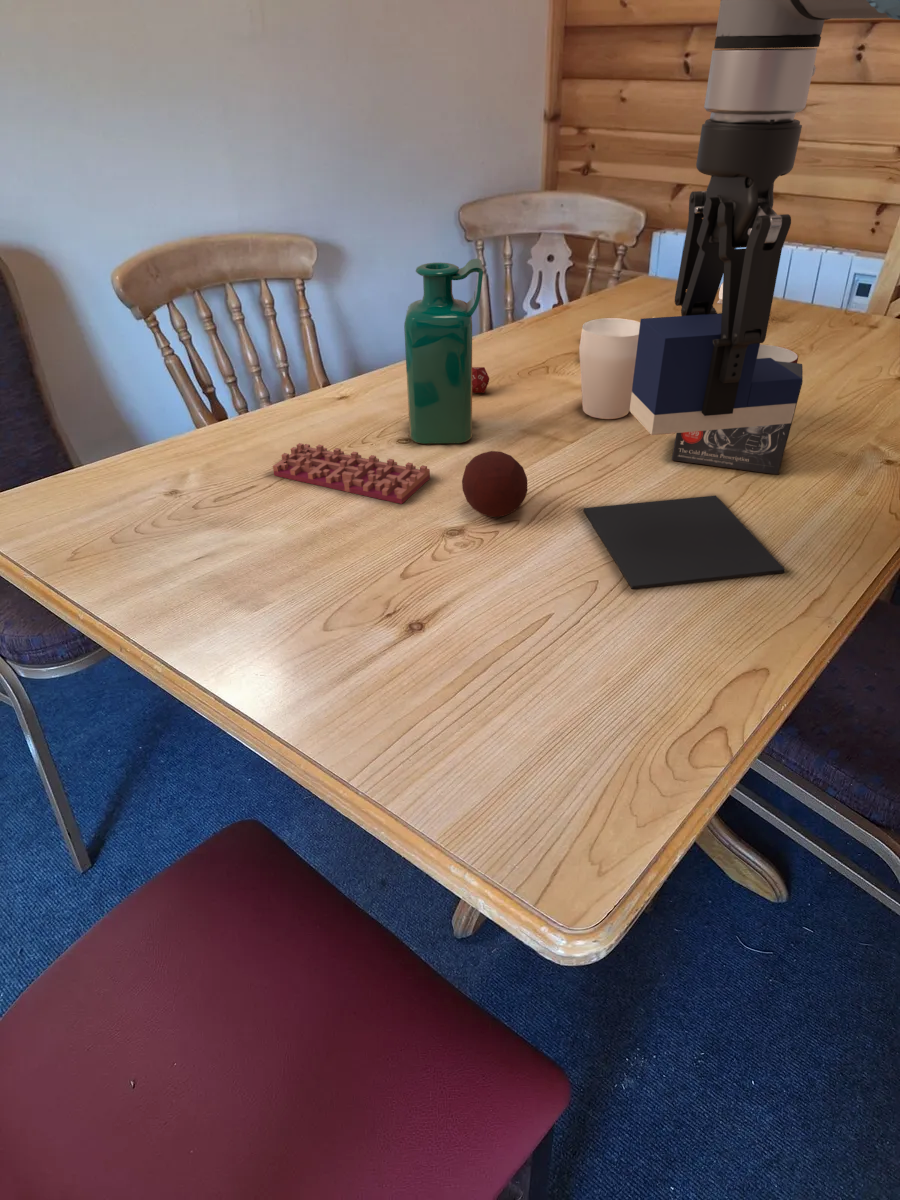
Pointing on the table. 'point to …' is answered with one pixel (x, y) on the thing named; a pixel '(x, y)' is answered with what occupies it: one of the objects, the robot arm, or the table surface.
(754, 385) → the navy block
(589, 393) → the cup
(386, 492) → the chocolate bar
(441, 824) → the table surface
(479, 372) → the dice
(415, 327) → the pitcher
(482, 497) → the dark red ball
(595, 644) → the table surface
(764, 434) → the small box
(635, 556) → the mat
